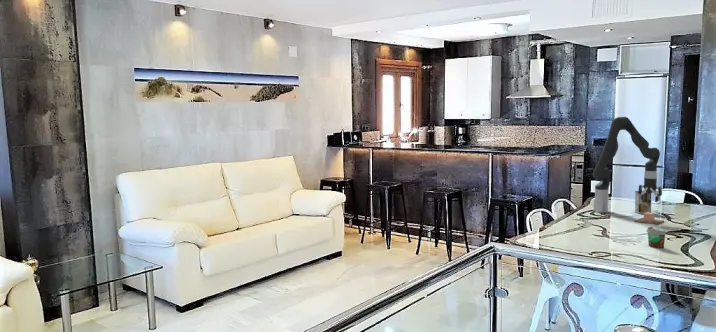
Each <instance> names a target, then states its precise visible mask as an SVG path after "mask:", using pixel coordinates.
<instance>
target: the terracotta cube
mask: <svg viewBox="0 0 716 332" xmlns="http://www.w3.org/2000/svg"><path fill="white" fill-rule="evenodd" d="M655 216H656V214H655V212H651V213H649V212H646V213H644V214H643V218H644V221H651V222H652V221H654V220H655Z"/></svg>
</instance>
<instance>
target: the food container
mask: <svg viewBox="0 0 716 332" xmlns="http://www.w3.org/2000/svg"><path fill="white" fill-rule="evenodd" d="M646 233H647V240H648V242H647V243H648V247H651V248H653V249H654V248H655V249H664V248H665V241H666V240H665V238H666V235H667V232H666V230H660V229H657V228H654V227H653V226H648V227H647V228H646Z"/></svg>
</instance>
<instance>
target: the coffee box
mask: <svg viewBox="0 0 716 332" xmlns="http://www.w3.org/2000/svg"><path fill="white" fill-rule="evenodd" d="M638 191H639V190H635V191H634V192H635V193H634V194H635V195H634V199H635V200H634V213H636V214H638V215H644V213H646V212H649V213H652V193H651V192H646V193H645V194H644V200H642V199H641V194H639V193H638ZM643 191H644V190H642V192H643Z"/></svg>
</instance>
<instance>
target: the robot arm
mask: <svg viewBox="0 0 716 332" xmlns="http://www.w3.org/2000/svg"><path fill="white" fill-rule="evenodd" d="M623 130H624V131H625V132H627V133H628V134H629V135H630V139H631V142H632V143H633V145H635V147H637V149H638V150H639V152H640V153H641V155H642V157H644V158H645V159H649V160H648V161H647V162H645V165H644V174H643V175H644V176H643V184H639V185H638V190H637V191H638V193H639V194H641V199H642V200H644V194H645V193H646V192H651V194H652V193H653V195H654V196H655V198H654V199H655V200H654V201H655V203H657V202H658V201H659V197H662V196H663V195H662V194H663V189H662V188H663V187H662V186H657V185H658V183H657V182H658V163H659V160H660V156H661V151H660V150H659V148H657V147H650V143H649V141H648V140H647V139H645V137H644V136H643V135H642V134H641V133H640V132H639V131H638V129H637V128H636V127H635V125H634V123H632V120H630V118H629V117H626V116H617V117H614V118H613V119H612V121H611V124H610V127H609V131H608V136H607V137H606V141H605V143H604V146H603V147H602V148H603V149H602V151H601V154H600V156H599V159H598V161H597V163H596V165H595V167H594V169H593V171H592V177H593V180H594V181H595V180H596V181H599V182H598V183H596V184H595V185H594V186H595V187H594V198H593V212H596V213H608V212H609V196H610V195H609V191H610V190H609V189H610V188H609V187H610V186H611V185H610V184H611V170H610V169H609V168H608V167H606V166H607V165H608V164H609V163H610V162H611V161H612V160H613V159H614V157H615V156H616V154H617V153H618V150H619V142H618V137H619V136H618V135H619V133H620V131H623ZM642 191H643V192H642Z"/></svg>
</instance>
